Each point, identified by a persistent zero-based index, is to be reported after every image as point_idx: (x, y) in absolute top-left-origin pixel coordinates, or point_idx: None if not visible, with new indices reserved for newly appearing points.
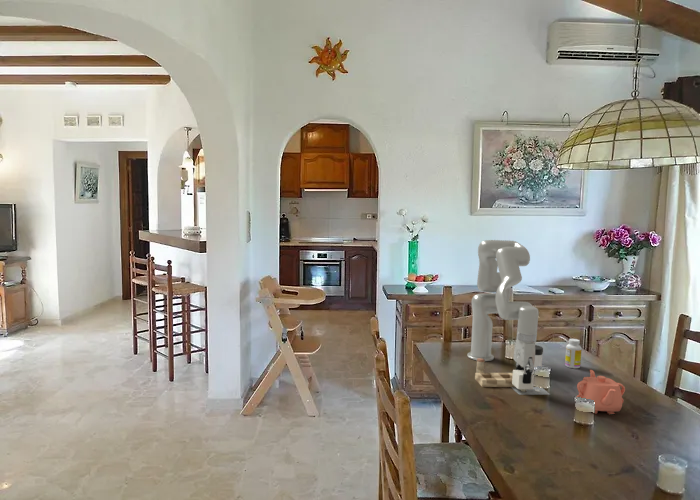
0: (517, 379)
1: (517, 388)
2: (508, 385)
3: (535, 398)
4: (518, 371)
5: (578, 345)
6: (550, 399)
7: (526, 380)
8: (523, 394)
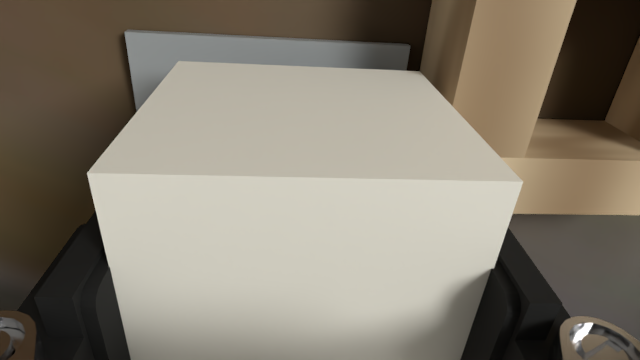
0: (209, 114)
1: (206, 62)
2: (439, 19)
3: (50, 190)
4: (379, 260)
5: None
6: None
7: (71, 243)
8: (134, 97)
